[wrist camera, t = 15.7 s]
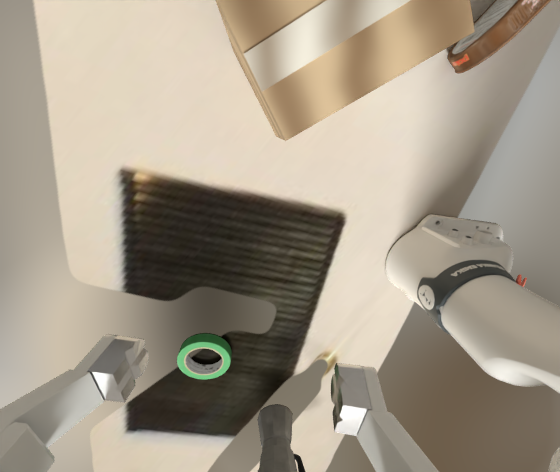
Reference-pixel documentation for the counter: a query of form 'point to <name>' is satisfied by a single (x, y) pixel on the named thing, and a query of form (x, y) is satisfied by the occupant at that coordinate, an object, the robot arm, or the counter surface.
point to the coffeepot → (277, 440)
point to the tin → (493, 31)
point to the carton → (333, 49)
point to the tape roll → (206, 342)
